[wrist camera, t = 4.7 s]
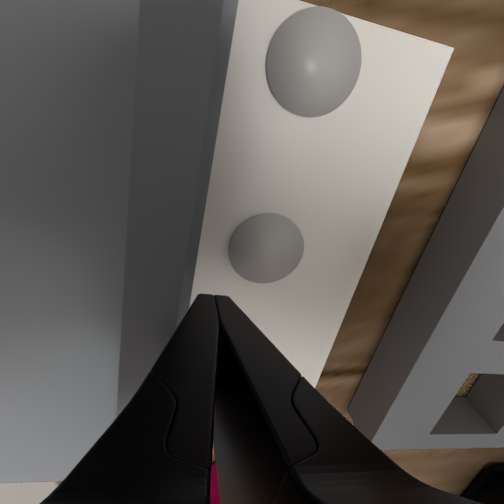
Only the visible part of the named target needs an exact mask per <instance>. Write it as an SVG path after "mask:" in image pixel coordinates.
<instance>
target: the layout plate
mask: <svg viewBox="0 0 504 504" xmlns="http://www.w3.org/2000/svg"><path fill="white" fill-rule="evenodd" d="M453 50H454V48H452V47H449V46H446V45H443V44H439V43H436V42H433V41H430V40H427V39H423V38H420V37H417V36H414V35H410V34H407V33H404V32H401V31H397V30H394V29H391V28H388V27H384V26H381V25H378V24H375V23H371V22H368V21H365V20H362V19H358V18H355V17H352V16H349V15H345V14H342V13H340V12H338V11H336V10H334V9H331V8H328V7H322V6H316V5H313V4H310V3H306V2H303V1H300V0H239V1H238V7H237V13H236V20H235V26H234V32H233V38H232V44H231V51H230V57H229V63H228V69H227V76H226V82H225V88H224V94H223V100H222V107H221V113H220V119H219V125H218V131H217V138H216V144H215V150H214V156H213V163H212V169H211V175H210V181H209V187H208V194H207V200H206V206H205V212H204V218H203V225H202V231H201V237H200V243H199V250H198V256H197V262H196V268H195V274H194V281H193V287H192V293H191V299H190V305H189V308H190V306H191V305H192V303H193V301H194V300H195V298H196V297H197V295H198V294H200V293H202V294H212V295H226V296H229V297H230V298H231V299H232V300H233V301H234V302H235V303H236V304H237V306H238V307H239V308H240V309H241V310H242V311H243V312H244V313H245V314H246V315H247V316H248V317H249V318H250V320H251V321H252V322H253V323H254V324H255V325H256V326H257V327H258V328H259V329H260V330H261V331H262V332H263V334H264V335H265V336H266V337H267V338H268V339H269V340H270V341H271V342H272V343H273V344H274V345H275V346H276V348H277V349H278V350H279V351H280V352H281V353H282V354H283V355H284V356H285V357H286V358H287V359H288V360H289V361H290V363H291V364H292V365H293V366H294V367H295V368H296V369H297V370H298V371H299V372H300V373H301V377H302V376H303V377H305V379H306V380H307V381H308V382H309V383H310V384H311V385H312V386H313V387H314V388H315V387H316V385H317V382H318V380H319V377H320V375H321V372H322V370H323V368H324V365H325V363H326V360H327V358H328V355H329V353H330V350H331V348H332V346H333V343H334V341H335V338H336V336H337V333H338V331H339V328H340V326H341V324H342V321H343V319H344V316H345V314H346V311H347V309H348V306H349V304H350V302H351V299H352V297H353V294H354V292H355V289H356V287H357V284H358V282H359V280H360V277H361V275H362V272H363V270H364V267H365V265H366V262H367V260H368V258H369V255H370V253H371V250H372V248H373V245H374V243H375V240H376V238H377V236H378V233H379V231H380V228H381V226H382V223H383V221H384V218H385V216H386V214H387V211H388V209H389V206H390V204H391V201H392V199H393V196H394V194H395V191H396V189H397V187H398V184H399V182H400V179H401V177H402V174H403V172H404V169H405V167H406V165H407V162H408V160H409V157H410V155H411V152H412V150H413V147H414V145H415V143H416V140H417V138H418V135H419V133H420V130H421V128H422V125H423V123H424V121H425V118H426V116H427V113H428V111H429V108H430V106H431V103H432V101H433V99H434V96H435V94H436V91H437V89H438V86H439V84H440V81H441V79H442V77H443V74H444V72H445V69H446V67H447V64H448V62H449V59H450V57H451V55H452V52H453Z"/></svg>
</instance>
